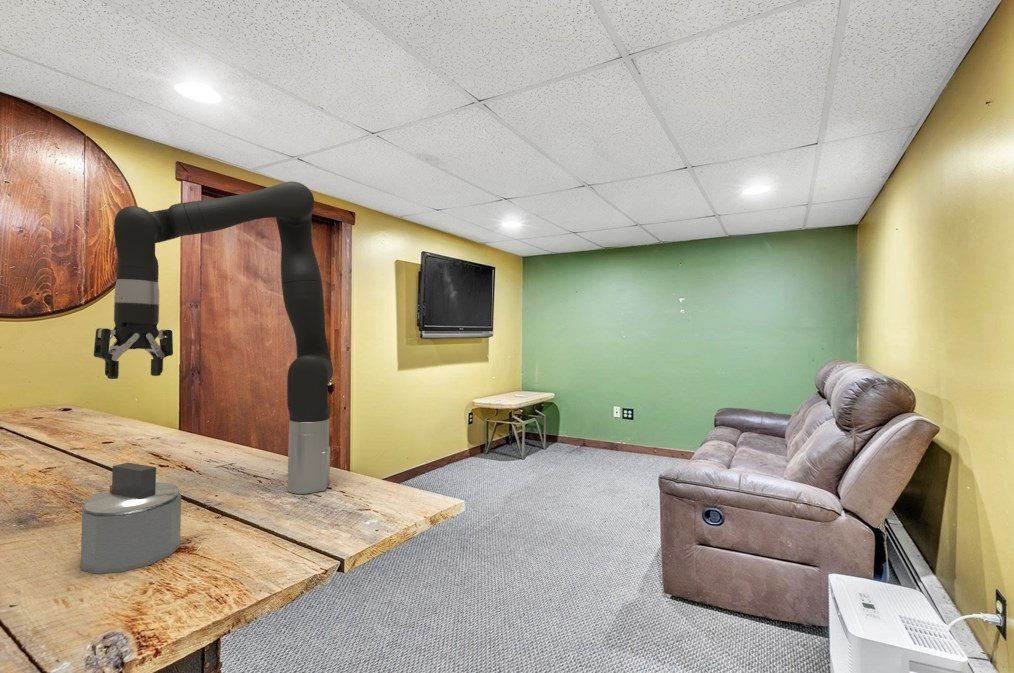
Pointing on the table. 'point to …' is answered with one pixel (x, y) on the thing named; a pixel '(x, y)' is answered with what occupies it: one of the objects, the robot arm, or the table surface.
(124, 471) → the lid
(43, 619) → the table surface
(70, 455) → the table surface
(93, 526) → the pot
